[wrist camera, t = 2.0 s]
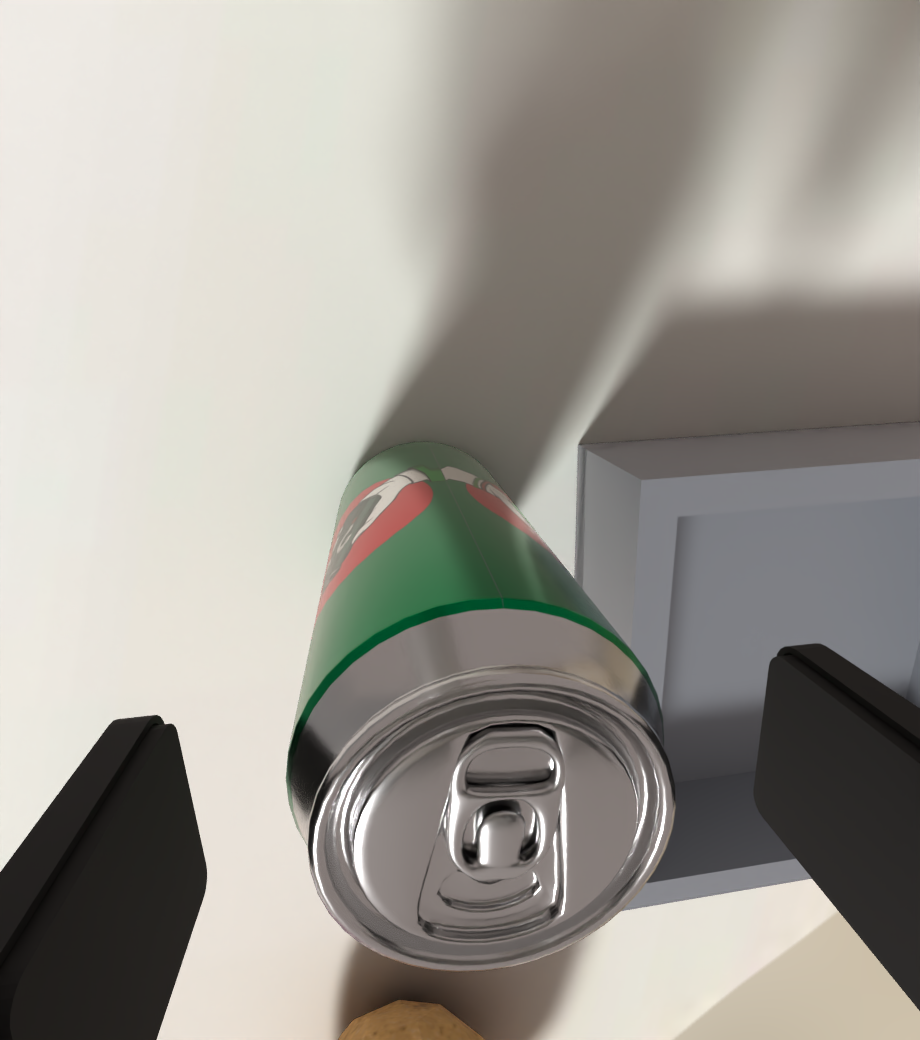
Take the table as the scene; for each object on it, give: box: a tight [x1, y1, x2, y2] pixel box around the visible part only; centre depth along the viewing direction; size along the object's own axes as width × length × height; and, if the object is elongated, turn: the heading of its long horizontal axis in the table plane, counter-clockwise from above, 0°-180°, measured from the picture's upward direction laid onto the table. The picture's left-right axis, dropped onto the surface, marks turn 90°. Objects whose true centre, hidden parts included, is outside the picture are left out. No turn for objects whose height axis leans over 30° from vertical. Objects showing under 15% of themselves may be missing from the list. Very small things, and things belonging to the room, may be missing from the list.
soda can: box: [286, 442, 676, 972], centre depth 12 cm, size 5×5×12 cm
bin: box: [575, 422, 920, 911], centre depth 19 cm, size 14×14×4 cm
